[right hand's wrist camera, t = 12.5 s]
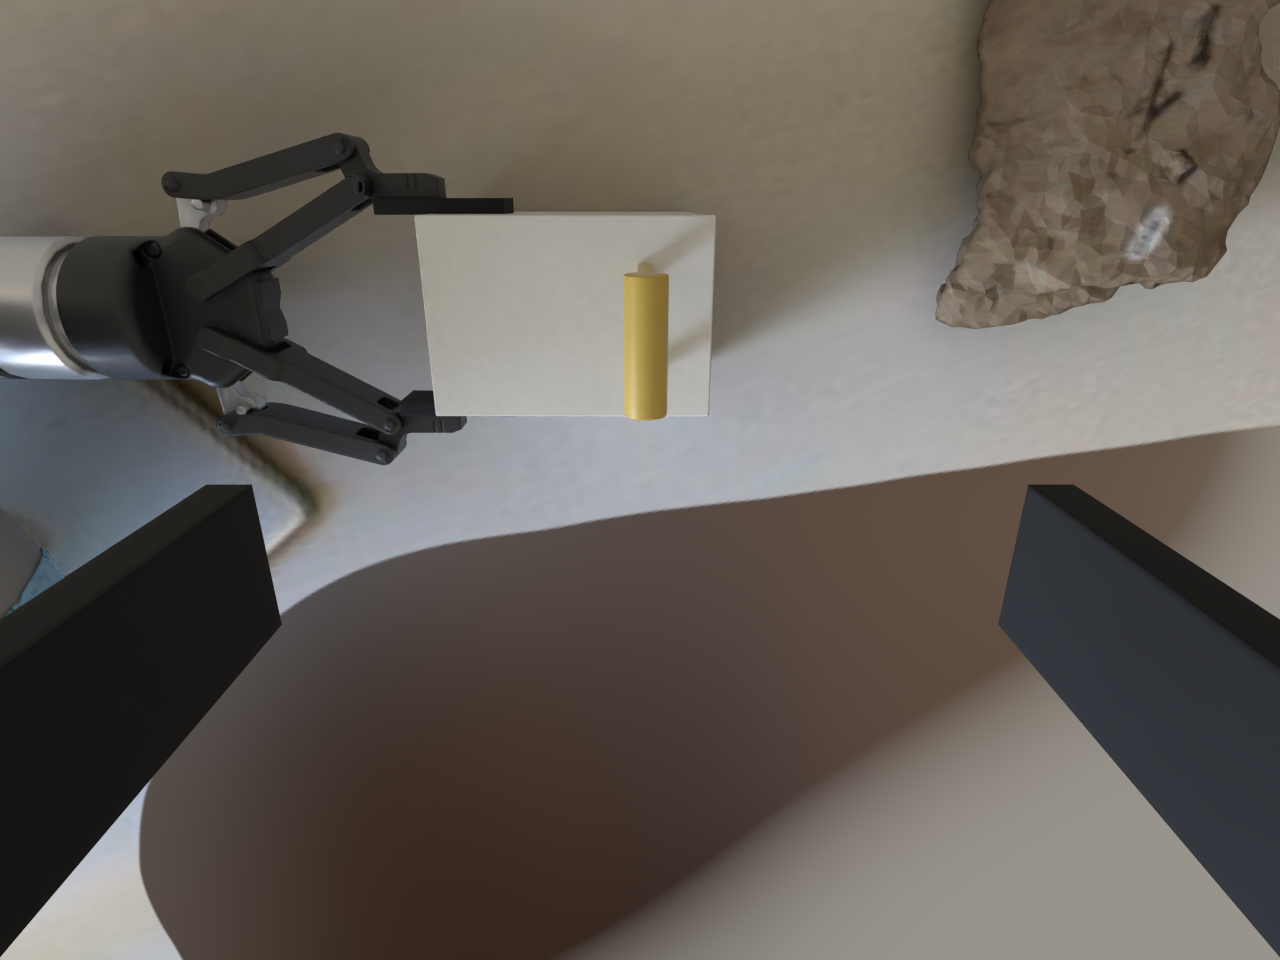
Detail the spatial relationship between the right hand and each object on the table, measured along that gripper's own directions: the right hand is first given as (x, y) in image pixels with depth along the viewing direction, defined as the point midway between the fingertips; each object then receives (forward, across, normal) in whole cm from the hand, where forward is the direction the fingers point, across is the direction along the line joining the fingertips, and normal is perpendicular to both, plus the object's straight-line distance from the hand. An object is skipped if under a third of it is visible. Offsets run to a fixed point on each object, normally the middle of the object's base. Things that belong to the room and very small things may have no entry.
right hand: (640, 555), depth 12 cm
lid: (+25, -4, 0) cm, 26 cm away
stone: (+34, +25, +9) cm, 43 cm away
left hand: (+28, -7, 0) cm, 29 cm away
